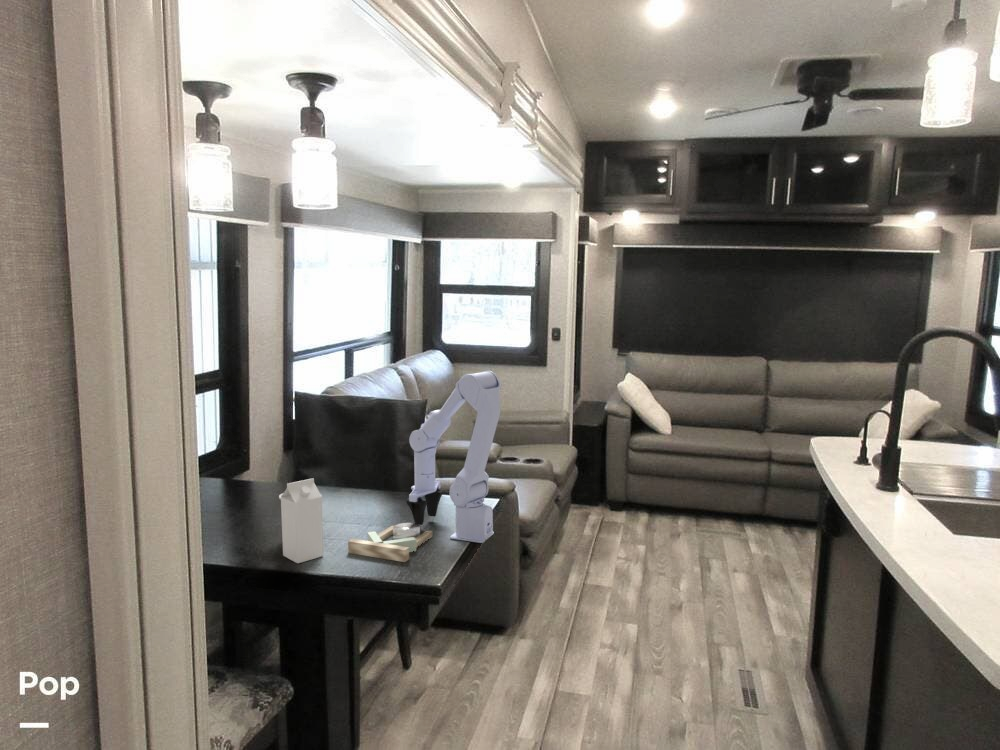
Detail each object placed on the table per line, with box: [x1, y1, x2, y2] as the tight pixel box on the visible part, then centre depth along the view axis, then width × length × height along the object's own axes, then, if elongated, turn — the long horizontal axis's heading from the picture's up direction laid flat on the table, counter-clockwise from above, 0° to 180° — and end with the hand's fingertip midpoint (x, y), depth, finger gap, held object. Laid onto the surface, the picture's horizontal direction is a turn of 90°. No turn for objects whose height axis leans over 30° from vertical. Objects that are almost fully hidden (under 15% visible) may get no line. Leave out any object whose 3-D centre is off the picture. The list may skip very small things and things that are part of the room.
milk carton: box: [280, 477, 324, 564], centre depth 172 cm, size 7×7×19 cm
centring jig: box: [347, 525, 433, 563], centre depth 181 cm, size 16×18×3 cm
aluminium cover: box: [392, 522, 421, 540], centre depth 186 cm, size 7×7×3 cm
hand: (425, 519), depth 196 cm, fingers open, 7 cm apart
